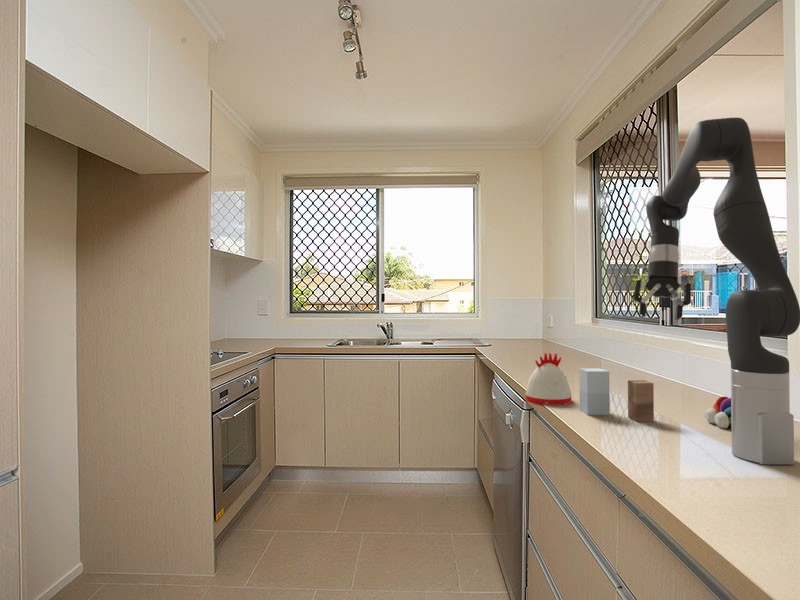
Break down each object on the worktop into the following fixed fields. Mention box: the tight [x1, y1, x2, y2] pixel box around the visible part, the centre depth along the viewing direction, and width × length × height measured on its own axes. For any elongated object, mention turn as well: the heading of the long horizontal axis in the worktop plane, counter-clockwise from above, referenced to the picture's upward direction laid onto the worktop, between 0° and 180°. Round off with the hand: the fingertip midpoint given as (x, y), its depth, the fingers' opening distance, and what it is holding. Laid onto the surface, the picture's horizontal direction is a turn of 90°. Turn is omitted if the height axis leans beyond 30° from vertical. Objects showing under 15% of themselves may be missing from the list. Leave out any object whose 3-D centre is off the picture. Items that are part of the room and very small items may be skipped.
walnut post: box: [627, 379, 655, 423], centre depth 123 cm, size 4×4×10 cm
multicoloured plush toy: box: [704, 395, 731, 430], centre depth 117 cm, size 8×10×7 cm
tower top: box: [578, 367, 610, 393], centre depth 132 cm, size 6×6×6 cm
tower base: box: [579, 389, 611, 416], centre depth 131 cm, size 6×6×6 cm
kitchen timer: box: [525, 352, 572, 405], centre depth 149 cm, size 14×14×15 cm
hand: (660, 318), depth 133 cm, fingers open, 8 cm apart
